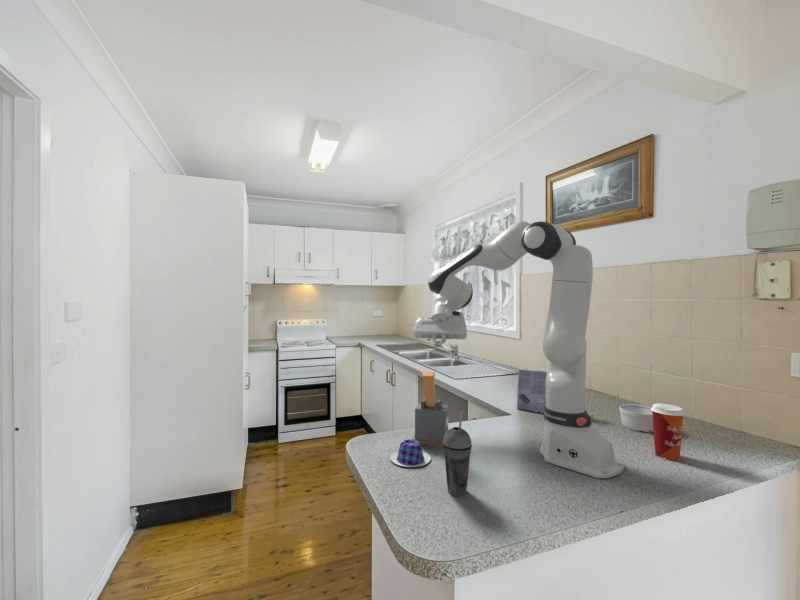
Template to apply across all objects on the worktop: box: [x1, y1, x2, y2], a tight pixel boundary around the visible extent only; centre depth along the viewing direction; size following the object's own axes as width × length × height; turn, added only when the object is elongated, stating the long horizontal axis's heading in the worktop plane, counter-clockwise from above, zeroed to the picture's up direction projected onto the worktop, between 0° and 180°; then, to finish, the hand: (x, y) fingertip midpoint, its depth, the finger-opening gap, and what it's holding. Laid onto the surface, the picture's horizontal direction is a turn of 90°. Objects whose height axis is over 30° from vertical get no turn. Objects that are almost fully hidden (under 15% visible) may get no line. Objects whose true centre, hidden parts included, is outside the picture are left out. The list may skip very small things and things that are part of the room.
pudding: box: [390, 438, 432, 468], centre depth 107 cm, size 12×12×5 cm
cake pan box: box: [516, 367, 547, 414], centre depth 153 cm, size 19×5×18 cm, turn 58°
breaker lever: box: [421, 370, 437, 408], centre depth 117 cm, size 2×4×13 cm, turn 74°
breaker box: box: [411, 397, 450, 448], centre depth 121 cm, size 8×12×14 cm, turn 74°
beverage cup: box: [442, 409, 473, 497], centre depth 89 cm, size 7×7×20 cm
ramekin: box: [618, 403, 654, 432], centre depth 134 cm, size 13×13×7 cm
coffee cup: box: [651, 403, 685, 461], centre depth 109 cm, size 8×8×15 cm
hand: (437, 346), depth 132 cm, fingers closed
